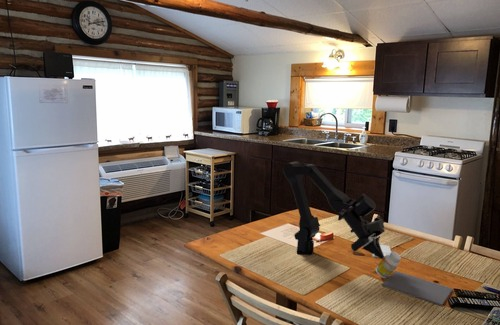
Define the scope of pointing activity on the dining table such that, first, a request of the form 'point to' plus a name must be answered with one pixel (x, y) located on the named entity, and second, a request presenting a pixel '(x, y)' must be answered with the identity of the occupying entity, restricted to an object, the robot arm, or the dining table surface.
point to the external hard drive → (384, 250)
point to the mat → (418, 288)
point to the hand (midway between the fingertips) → (382, 257)
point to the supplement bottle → (388, 264)
